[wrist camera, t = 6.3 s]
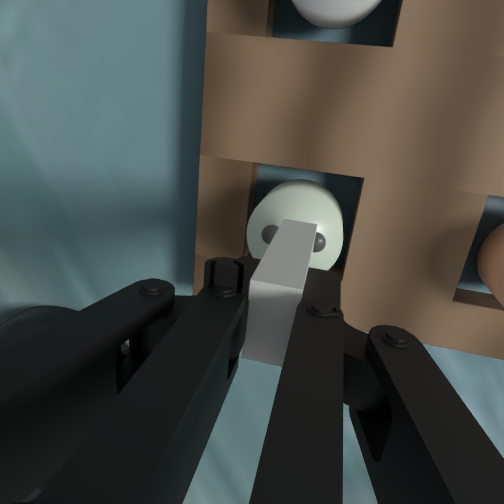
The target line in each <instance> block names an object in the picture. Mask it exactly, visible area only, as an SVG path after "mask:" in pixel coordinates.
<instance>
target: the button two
mask: <svg viewBox="0 0 504 504" xmlns="http://www.w3.org/2000/svg"><path fill="white" fill-rule="evenodd" d="M284 219H289V220H295V221H301V222H307V223H314V224H317V230H316V236H315V241H314V247H313V253H312V258H311V264H310V267H311V268H316V269H322V270H329V269H330V268H331V267H332V265H333V264H334V263H335V262H336V260H337V258H338V257H339V254H340V252H341V248H342V244H343V220H342V212H341V208H340V206H339V203H338V201H337V200H336V198H335V197H334V195H333V194H332V193H331V192H330V191H329V190H328V189H327V188H325V187H324V186H322V185H320V184H318V183H316V182H313V181H310V180H303V179H296V180H290V181H286V182H283V183H281V184H279V185H278V186H276V187H274V188H273V189H272V190H271V191H270V192H269V193H268V194H267V195H266V196H265V198H264V199H263V200H262V201H261V202H260V203H259V205H258V206H257V207H256V208H255V210H254V211H253V213H252V215H251V217H250V219H249V222H248V226H247V243H248V247H249V250H250V253H251V255H252V256H253V258H257V259H262V258H263V256H264V254H265V252H266V250H267V249H268V247H269V245H270V243H271V241H272V239H273V238H274V236H275V234H276V232H277V230H278V229H279V227H280V225H281V223H282V221H283V220H284Z"/></svg>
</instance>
